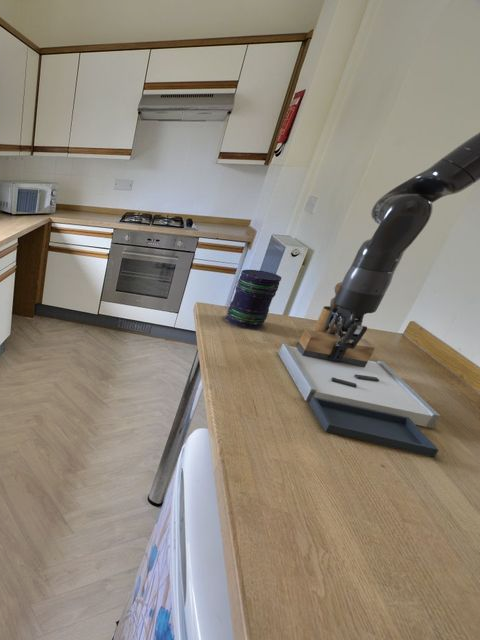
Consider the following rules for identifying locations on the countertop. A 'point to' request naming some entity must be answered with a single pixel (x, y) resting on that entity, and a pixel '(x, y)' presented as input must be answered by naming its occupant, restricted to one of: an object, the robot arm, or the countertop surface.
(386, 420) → the tray
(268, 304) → the storage jar
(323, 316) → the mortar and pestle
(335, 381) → the smudge
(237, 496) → the countertop surface
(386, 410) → the board
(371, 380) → the smudge
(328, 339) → the eraser
